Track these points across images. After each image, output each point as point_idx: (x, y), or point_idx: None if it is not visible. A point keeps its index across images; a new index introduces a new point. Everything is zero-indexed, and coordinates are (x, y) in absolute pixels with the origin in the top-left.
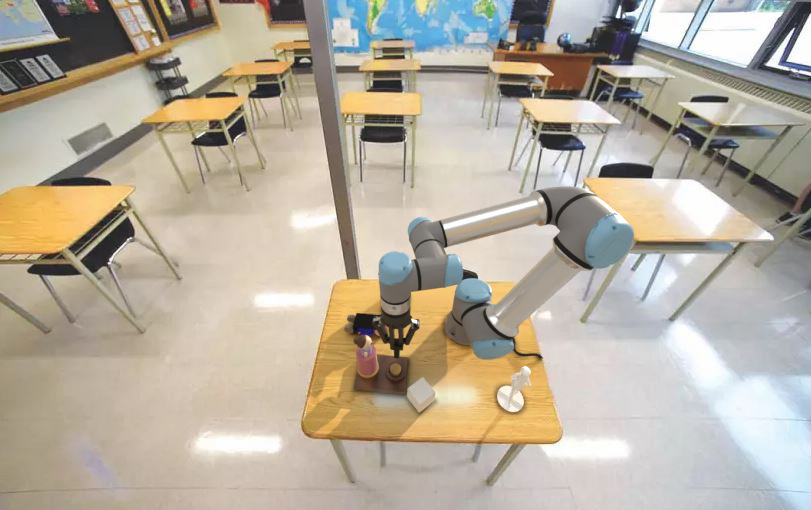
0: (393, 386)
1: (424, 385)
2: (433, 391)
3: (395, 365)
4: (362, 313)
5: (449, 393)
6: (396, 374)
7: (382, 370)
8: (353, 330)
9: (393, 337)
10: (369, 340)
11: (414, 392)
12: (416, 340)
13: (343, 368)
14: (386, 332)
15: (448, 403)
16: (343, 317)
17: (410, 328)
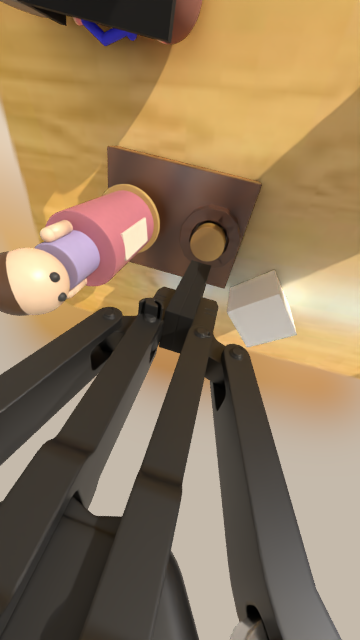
0: None
1: (274, 314)
2: (291, 332)
3: (207, 235)
4: None
5: (338, 299)
6: (207, 260)
7: (174, 222)
8: (41, 13)
9: (129, 410)
10: (39, 301)
11: (241, 324)
12: (332, 74)
13: (76, 187)
14: (89, 350)
15: (321, 317)
16: None
17: (240, 529)
